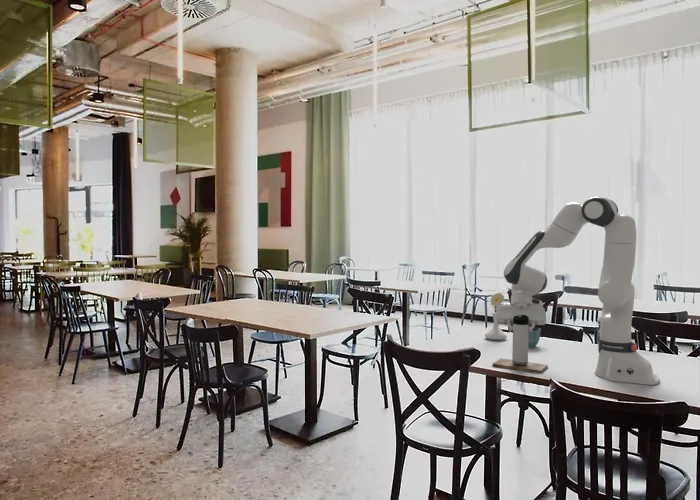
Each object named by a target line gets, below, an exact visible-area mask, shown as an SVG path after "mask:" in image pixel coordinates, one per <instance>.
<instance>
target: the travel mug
mask: <svg viewBox="0 0 700 500" xmlns="http://www.w3.org/2000/svg"><path fill="white" fill-rule="evenodd" d="M519 316H521V317H519ZM528 322H529V317H528V316H526V315H518V316H514V317H513V323H512V326H513V331H512V355H511V356H512V359H511V360H512V362H513V363H514V364H519V365H525V364H528V362H529V347H528V329H529V327H530V326H529V325H530V324H528Z"/></svg>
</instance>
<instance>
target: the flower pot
mask: <svg viewBox="0 0 700 500" xmlns="http://www.w3.org/2000/svg"><path fill="white" fill-rule="evenodd" d="M541 332H542V328H541V327H534V328H533V329H532V332H528V348H532V349H533V348H536V346H538V343H539V341H540V337H541Z"/></svg>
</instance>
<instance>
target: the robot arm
mask: <svg viewBox="0 0 700 500" xmlns="http://www.w3.org/2000/svg"><path fill="white" fill-rule="evenodd" d="M588 223H589V224H592V225H595V226H599V227H601V228H603V229H604V232H605V236H604V247H603V248H604V249H603V261H602V266H601V271H600V272H601V273H600V277H599V282H598V284H599V285H598V291H597V296H598V299H599V301H600V302H601V303H602V309H601V315H600V316H601V321H600V339H599V338H598V342H597V343H598V346H597V350H598V358H597V359H598V360H597V364H596V368H595V370H594V374H595V375H596V376H598V377H601V378H604V379H606V380H608V381H611V382H619V383H628V384H641V385H650V386H655V385H658V384H659V383H660V377H659V376H658V375H656V374H654V371H653V370H654V369H653V367H652V364H651V362H650V361H649V360H647V358H645V357H644V356H643V355H641V354H640V353H639V352H637V351H638V345H637V343H636V342H633V341H632V323H633V322H632V321H633V313H634V312H633V311H634V302H635V286H634V283H633V282H632V278H633V272H634V268H635V263H636V252H637V251H636V249H637V225H636V221H635V219H634V218H633V217H632V216H630V215H627V214H620V213H619V208H618V206H617V204H616V203H615V202H614V201H613V200H611V199H609V198H608V197H604V196H593V197H589V198H588V199H586V200H585V201H584V202H583V204H580V203H579V202H568V203H566V204H565V205H564V206H563V207H562V208H561V209H560V211H559V212H558V213H557V214H556V216H555V218H554V219H553V221H552V222H551V223H550V225H549V226H547V227H546V228H545V229H544V230H538V231H537V232H536V233H534V235H533V236H532V237H531V238H530V239H529V241H528V242H527V243H526V244H525V245H524V246H523V247H522V249H521V250H520V251H519V252H518V253H517V254H516V255H515V257H514V258H513V259H512V260H511V261H509V262H508V264H506V266H505V267H504V270H503V276H504V279H505V281H506V282H507V283H509V284H510V285H511V287H510V291H511V296H510V303H501V304H499V305H497V306H496V307H495V309H496V310H495V311H496V313H497V316H496V319H497V322H498V324H506V326H507V327H508V329H509V330H508V331H509V332H513V325H512V324H513V317H514V316H518V315H526V316H528V317H529V322H528V324H529V325H530V326H529V329H528V332H532V329H533V328H536V326H545V325H546V324H547V315H546V314H547V313H546V309H545V307H544V303H543V301H542V300H540V299H537V298H533V296H536V295H538V294H540V293H542V292H543V291H545V289H546V288H547V285H548V276H547V275H546V272H543V271H541V270H540V269H537V268H534V267H532V266H530V265H527V263H528V262H529V260H530V259H531V258H532V257H533V256H534V254H535V253H536V252H537V251H538V250H539V251H540V250H541V249H545V248H550V249H551V248H552V249H561V248H566V247H568V246H570V245H571V244H572V243H574V241H575V239H576V237H577V236H578V234H579V233H580V231H581V230H582V228H583V227H584V225H586V224H588ZM519 317H521V316H519Z"/></svg>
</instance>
